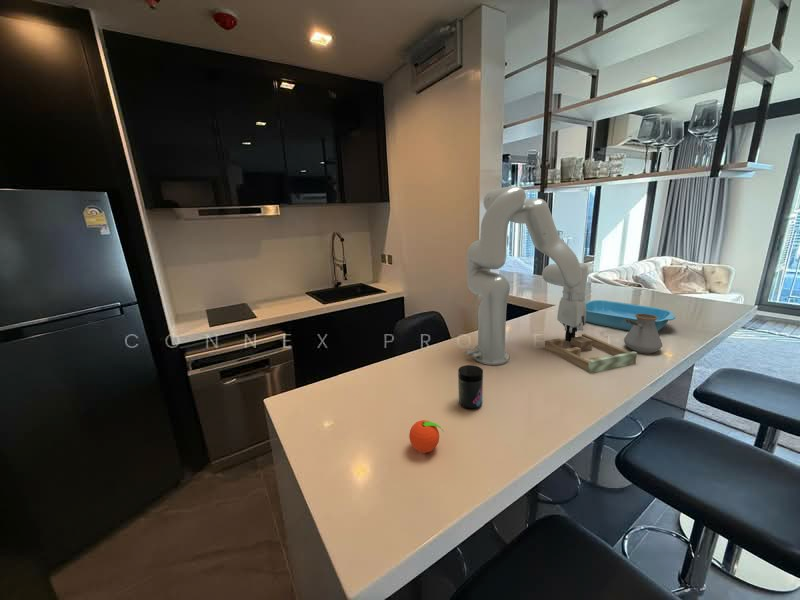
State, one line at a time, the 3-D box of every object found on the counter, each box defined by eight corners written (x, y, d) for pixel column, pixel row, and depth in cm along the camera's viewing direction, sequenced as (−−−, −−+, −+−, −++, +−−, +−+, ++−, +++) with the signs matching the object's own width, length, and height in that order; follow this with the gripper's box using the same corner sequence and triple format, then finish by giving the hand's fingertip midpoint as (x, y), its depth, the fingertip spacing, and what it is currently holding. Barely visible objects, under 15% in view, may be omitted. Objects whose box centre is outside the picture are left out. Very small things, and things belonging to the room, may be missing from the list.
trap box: (590, 373, 107) (592, 362, 106) (544, 348, 127) (545, 338, 126) (635, 363, 111) (637, 352, 110) (583, 340, 132) (584, 331, 131)
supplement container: (470, 413, 89) (470, 378, 86) (453, 402, 94) (453, 369, 92) (487, 405, 92) (488, 371, 90) (470, 395, 98) (470, 362, 95)
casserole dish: (568, 321, 156) (569, 306, 154) (587, 310, 169) (589, 297, 168) (664, 341, 128) (667, 323, 126) (679, 326, 142) (682, 310, 140)
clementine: (442, 438, 80) (442, 412, 78) (445, 459, 73) (445, 431, 71) (410, 439, 80) (408, 413, 79) (409, 459, 74) (408, 432, 72)
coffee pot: (631, 341, 129) (636, 304, 125) (667, 350, 120) (673, 310, 116) (602, 355, 118) (607, 315, 115) (639, 366, 109) (645, 324, 105)
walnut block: (580, 352, 122) (581, 342, 121) (570, 347, 127) (571, 337, 126) (591, 350, 123) (592, 340, 122) (581, 345, 128) (582, 336, 127)
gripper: (551, 292, 131) (548, 335, 136) (581, 301, 117) (576, 349, 122) (567, 290, 133) (563, 333, 138) (598, 299, 119) (593, 346, 124)
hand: (569, 340), depth 130 cm, fingers closed
